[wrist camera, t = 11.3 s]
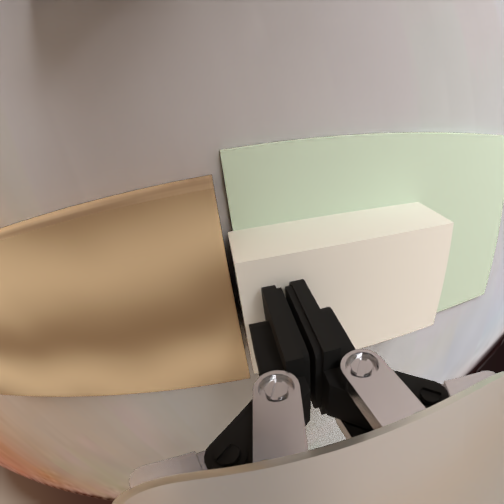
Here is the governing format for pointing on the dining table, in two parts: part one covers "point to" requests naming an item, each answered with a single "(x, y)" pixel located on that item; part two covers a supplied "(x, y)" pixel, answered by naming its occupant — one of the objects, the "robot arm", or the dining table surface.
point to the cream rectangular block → (350, 268)
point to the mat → (380, 188)
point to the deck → (119, 297)
